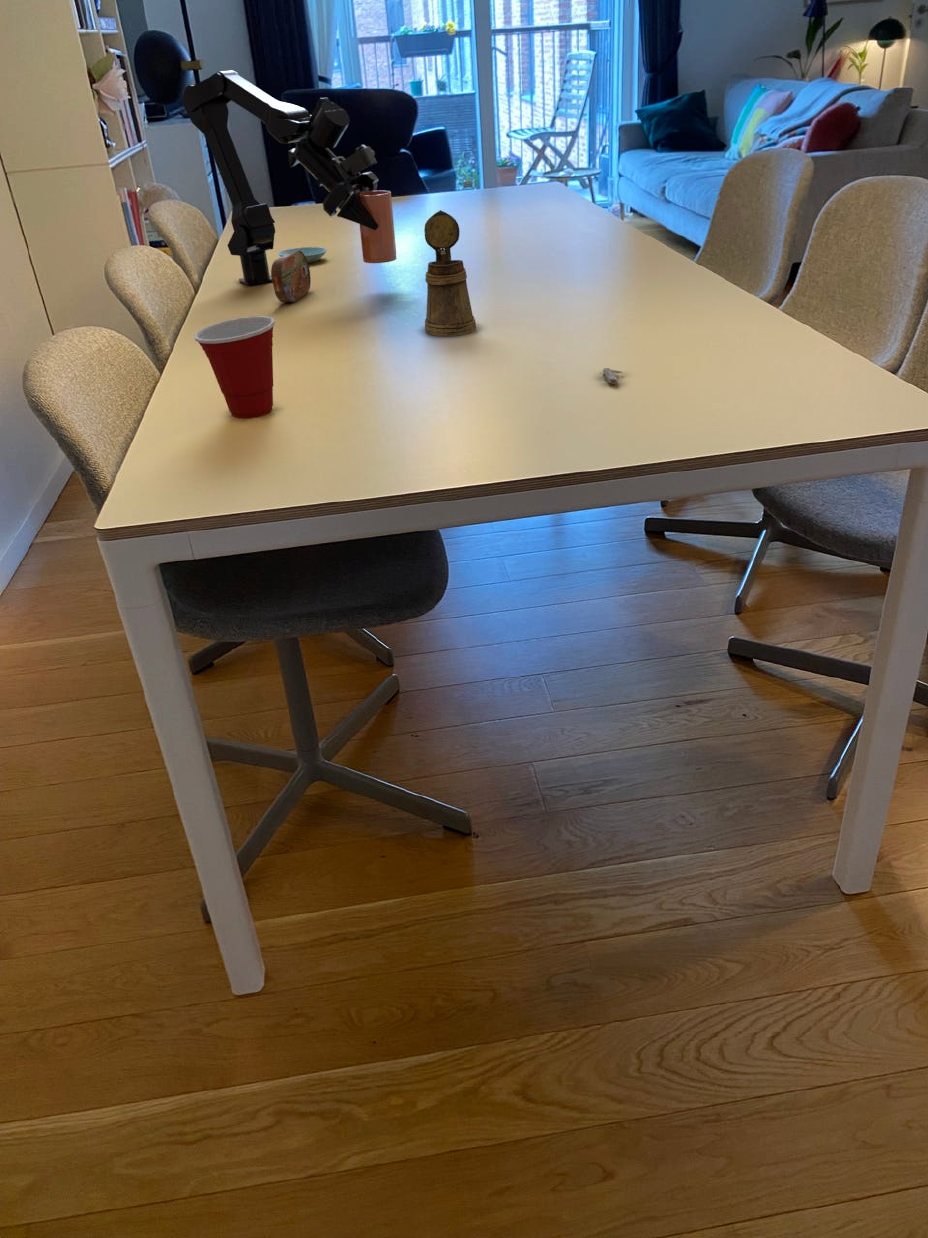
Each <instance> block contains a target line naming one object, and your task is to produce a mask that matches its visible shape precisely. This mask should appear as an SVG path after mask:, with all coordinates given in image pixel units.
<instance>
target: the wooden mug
mask: <svg viewBox="0 0 928 1238" xmlns="http://www.w3.org/2000/svg"><path fill="white" fill-rule="evenodd" d="M423 231H424V240H425V242H426V244H427V245H428V246H429V247H430V248H431V249H433V251H435V261H429V262H428V263H427V271H426V272H425V281H424V282H426V284H427V293H426V314H425V315H426V316H425V319H424V331H425V333H426V334H428V335H431V336H434V337H455V336H462V335H467V334H470V333H473V332H474V331H476V330H477V324H476V318H475V316H474V313H473V310H472V305H471V300H470V294H469V290H468V283H467V278H468V275H467V270H466V268H465V266H464V261H463V260H461V259H452V252H451V249H452V248H453V247H454V246H455V245H456V244H457V243H458V241H459V239H460V232H461V231H460V226H459V223H458V222H457V220H456V219H455V218H454V216H452V215H450V214H449V213H447V212H445V211H443V210H441V209H440V210H438V211H436V212H435V213H434V214H433V215H431V216H430V217H429V218H428V219H427V220H426V222H425V224H424V230H423Z"/></svg>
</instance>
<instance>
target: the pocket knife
mask: <svg viewBox="0 0 928 1238" xmlns="http://www.w3.org/2000/svg"><path fill="white" fill-rule="evenodd" d="M614 373H615V374H623V371H620V370H614V369H611V368H608V367H604V368H603V370H602V377H603V378H605V380H606V381H607V382H608V383H609V384H617V380H618V378H617V375H615V374H614Z"/></svg>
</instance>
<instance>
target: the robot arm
mask: <svg viewBox="0 0 928 1238" xmlns="http://www.w3.org/2000/svg"><path fill="white" fill-rule="evenodd" d="M181 101H182V106H183V108H184V110H185V112H186V114H187V117H188V118H189V120H190V122H191V123H192V124H193V125H194V126H195V128H197V130H199V131H200V133H202V134H203V135H204V137H205V139H206V142H207V144H208V147H209V149H210V153H211V154H212V157H213V160H214V162H215V165H216V167H217V171H218V173H219V176H220V177H221V180H222V183H223V185H224V188H225V190H226V192H227V195H228V198H229V201H230V203H231V206H232V211H231V219H230V222H231V226H232V229H233V233H232V235H231V237H230V239H229V241H228V243H227V248H228V250H229V253H230V255H231V256H237V257H238V256H239V260H240V265H241V271H242V276H243V277H241V278H238V281H239V282H240V283H242V284H244V285H247V286H253V285H258V284H263V283H269V282H273V281H272V278H271V274H270V271H269V264H268V258H267V251H268V250H274V246H275V234H276V227H275V223H276V221H275V219H274V218H273V216H272V214H271V211H270V207H269V205H268V204H267V203H262V204H261V203H260V202H259V201H258V200H257V199H256V198H255V196H254V192H253V190H252V187H251V185H250V183H249V180H248V177H247V174H246V172H245V169H244V167H243V164H242V162H241V159H240V157H239V154H238V151H237V149H236V146H235V143H234V141H233V139H232V136H231V133H230V131H229V128H228V126H229V115H230V114H229V113H230V111H229V107H228V105H229V104H230V103H231V102H233V103H234V104H236V105H237V106H239V107H241V108H242V109H244V110H245V111H246V112H248V113H249V114H251V115H253V116H254V117H256V118H257V119H258V120H260V121H262V123H263V124H264V125H265V128H266V131H267V132H268V133H269V134H270V135H271V136H272V137H273V138H274V139H275V140H276V141H278V142H279V143H281V144H284V145H285V144H291V143H297V142H298V143H297V145H296V146H295V148H292V149H290V150H288V151H287V154H288V164H289V167H290V168H293V167H295V166H296V165H298V164H300V165H302V166H303V167H304V168H305V169H306V170H307V171H308V173H310V174H311V175H312V176H313V177H314V178H315V179H316V181H314V183H315V184H316V185H317V186H318V187H324V188H325V189H326V190H327V192H329V193H328V194H327V195H326V197H324V200H323V201H322V207H323V208H322V209H323V211H324V212H325V213H326V214H327V215H328V216H329V217H330V218H332V217H333V216H336V217H337V218H342V219H345V220H348V221H350V222H352V223H355V224H358V225H359V224H361V225H363V226H366V227H368V228H371V229H373V230H377V228H378V227H379V225H378V224H377V222H376V221H375V219H374V218H373V217H372V215H371V214H370V213H369V212H368V210H367V209H366V208H365V206H364V205H363V204H362V202H361V198H360V192H366V191H378V190H377V189H378V188H377V187H378V182H379V177H378V176H377V175H376V174H375V173H373V172H372V171H365V172H363V173H361V172H362V171H364V170H365V169H367V168H369V167H370V166H374V165H376V164H377V163H378V161H377V159H376V157H375V155H376V151H375V150H373V149H372V148H371V146H366V145H365V144H361V145H360V146H358V147H357V148H355V153H353V154H351V155H349V156H348V157H344V156H341V155H340V156H337V155H336V154H334V153H333V151H331V149H334V148H336V147H337V145H338V143H339V142H340V140H341V138H342V137H343V135H344V133H345V131H346V130H347V128H348V126H349V125H350V122H351V120H350V119H351V118H350V116H349V114H348V113H347V111H346V109H344V108H342V107H341V106H339V105H338V104H337V103H335V102H332V101H330V99H329V97H320V98H318V101H317V102H316V105H315V108H314V110H313V111H312V112H311V113H312V114H310V113H309V111H308V110H307V109H306V108H304V107H301V106H299V105H296V104H293V103H289V102H285V101H280V100H278V99H276V98H274V97H272V96H271V95H270V94H268V93H266V92H265V91H263V90H262V89H260V88H259V87H257V86H256V85H254V84H253V83H251V82H250V81H248V80H247V79H245V78H244V77H242V76H241V75H240V74H239V73H238V72H237V71H235V70H231V69H230V70H219V71H216V72H215V73H213V74H212V75H211V76H209V77H208V78H205V79H203V80H201V81H199V82H197V83H194V84H189V85H186V87H185V88H184V91H183V94H182V98H181ZM337 209H339V211H337Z"/></svg>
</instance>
